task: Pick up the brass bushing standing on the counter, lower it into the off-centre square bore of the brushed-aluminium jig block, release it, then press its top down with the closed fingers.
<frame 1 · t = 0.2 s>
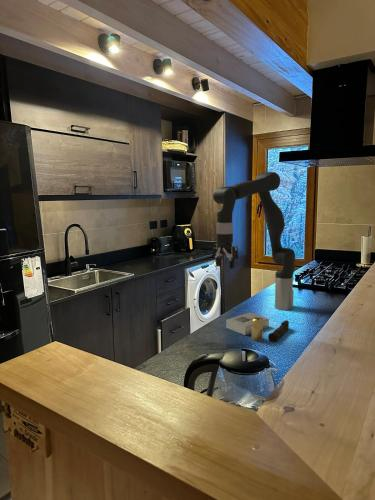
hand: (224, 267, 161), 29 cm above the counter, fingers open, 8 cm apart
hand tool: (279, 335, 155), on the counter
bushing: (256, 338, 150), on the counter
jig: (247, 327, 164), on the counter
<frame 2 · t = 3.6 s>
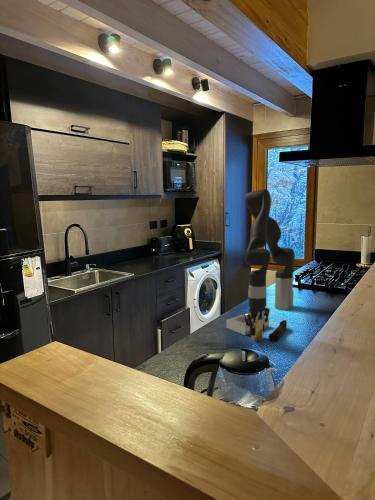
hand: (257, 333, 150), 2 cm above the counter, fingers closed on bushing, 4 cm apart
bushing: (257, 338, 150), on the counter, touching gripper
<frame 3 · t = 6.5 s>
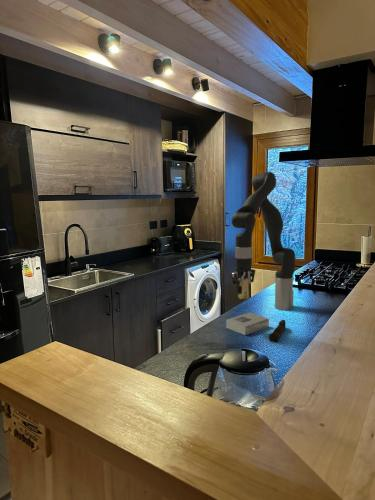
hand: (243, 292, 161), 17 cm above the counter, fingers closed on bushing, 4 cm apart
bushing: (243, 297, 161), point 15 cm above the counter, touching gripper
everything else where it was.
when the fingers open (5 cm above the counter, at t = 9.5 s): bushing drops 2 cm, resting in jig.
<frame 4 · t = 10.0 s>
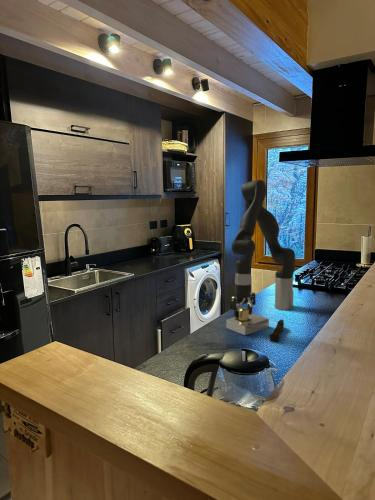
hand: (243, 316, 163), 6 cm above the counter, fingers open, 8 cm apart
bushing: (243, 327, 164), resting in jig
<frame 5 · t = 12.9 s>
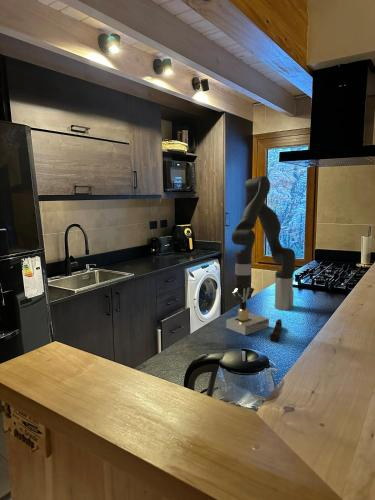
hand: (243, 309, 162), 9 cm above the counter, fingers closed
bushing: (243, 327, 164), resting in jig, touching gripper
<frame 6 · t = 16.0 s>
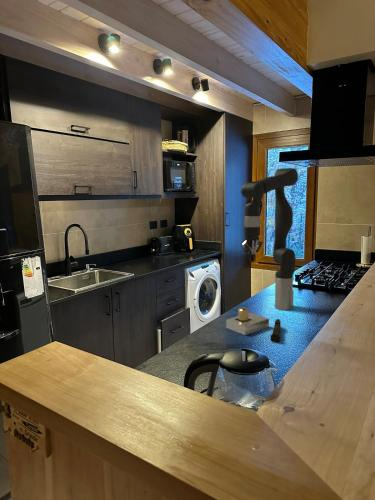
hand: (251, 261, 167), 30 cm above the counter, fingers closed
bushing: (243, 327, 164), resting in jig
at the end: bushing 0.1 cm from the target spot on the jig, point 0.0 cm above the jig's base; bushing tilted 0°; the gripper is holding nothing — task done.
